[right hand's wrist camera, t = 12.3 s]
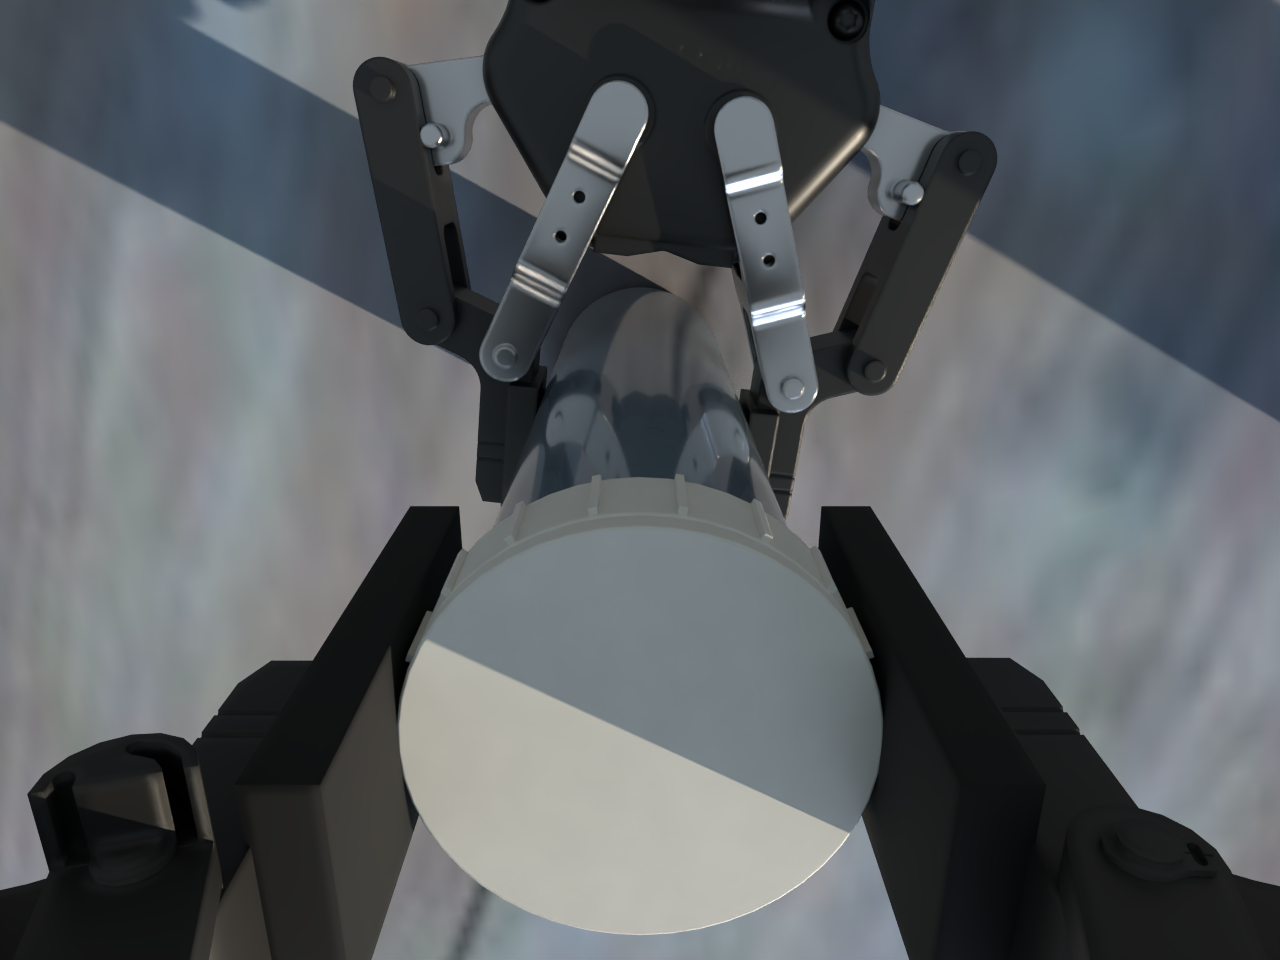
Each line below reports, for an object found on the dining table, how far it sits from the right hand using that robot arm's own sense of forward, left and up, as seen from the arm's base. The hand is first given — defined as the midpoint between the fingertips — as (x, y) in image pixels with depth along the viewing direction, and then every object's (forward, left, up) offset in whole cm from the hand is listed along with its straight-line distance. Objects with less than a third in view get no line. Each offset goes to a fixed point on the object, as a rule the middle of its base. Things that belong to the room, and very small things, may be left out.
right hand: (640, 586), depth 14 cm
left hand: (-1, -3, -9) cm, 9 cm away
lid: (0, 0, +4) cm, 4 cm away
